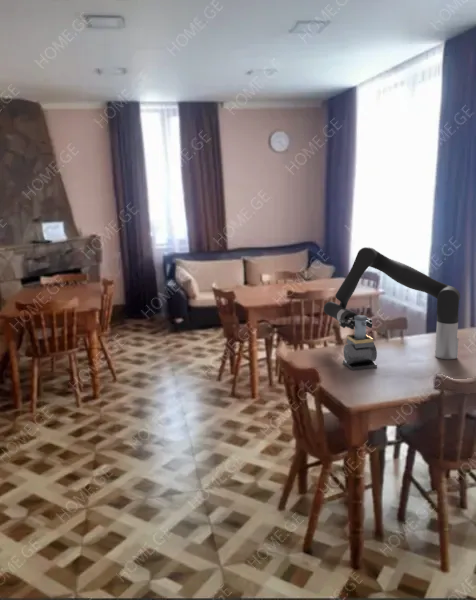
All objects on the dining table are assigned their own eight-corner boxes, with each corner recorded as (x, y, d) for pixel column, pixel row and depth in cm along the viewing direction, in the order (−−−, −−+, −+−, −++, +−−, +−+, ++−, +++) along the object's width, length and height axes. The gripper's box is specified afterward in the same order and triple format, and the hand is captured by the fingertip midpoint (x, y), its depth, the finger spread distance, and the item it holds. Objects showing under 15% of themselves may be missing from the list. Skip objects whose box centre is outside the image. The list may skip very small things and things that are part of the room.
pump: (351, 338, 230) (352, 315, 228) (363, 338, 232) (363, 314, 229) (358, 343, 224) (358, 319, 221) (369, 342, 225) (370, 318, 222)
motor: (367, 360, 237) (367, 333, 234) (377, 367, 227) (377, 339, 224) (343, 363, 234) (343, 335, 232) (352, 370, 225) (352, 341, 222)
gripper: (333, 311, 238) (347, 319, 223) (361, 309, 241) (377, 317, 225) (333, 326, 240) (347, 336, 224) (361, 324, 243) (376, 333, 227)
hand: (362, 326), depth 225 cm, fingers open, 8 cm apart
